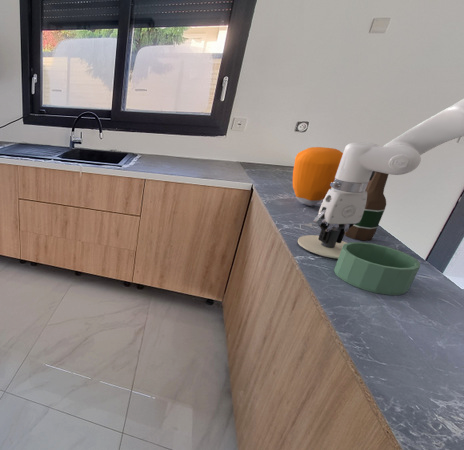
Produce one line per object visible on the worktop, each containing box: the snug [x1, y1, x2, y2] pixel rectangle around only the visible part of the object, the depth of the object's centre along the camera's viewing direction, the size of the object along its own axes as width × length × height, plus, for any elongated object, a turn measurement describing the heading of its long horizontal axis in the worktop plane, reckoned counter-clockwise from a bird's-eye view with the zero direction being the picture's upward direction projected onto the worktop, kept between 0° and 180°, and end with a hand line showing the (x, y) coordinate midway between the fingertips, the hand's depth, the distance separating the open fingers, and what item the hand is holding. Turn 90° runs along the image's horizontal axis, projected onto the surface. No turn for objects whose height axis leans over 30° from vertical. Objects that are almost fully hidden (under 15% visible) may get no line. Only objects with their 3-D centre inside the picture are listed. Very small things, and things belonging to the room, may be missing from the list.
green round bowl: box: [333, 241, 421, 296], centre depth 82 cm, size 15×15×8 cm
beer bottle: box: [344, 171, 390, 242], centre depth 103 cm, size 8×8×24 cm
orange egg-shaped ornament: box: [292, 146, 343, 207], centre depth 132 cm, size 17×17×25 cm
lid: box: [297, 226, 348, 260], centre depth 98 cm, size 16×16×7 cm
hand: (329, 240), depth 99 cm, fingers closed on lid, 3 cm apart
